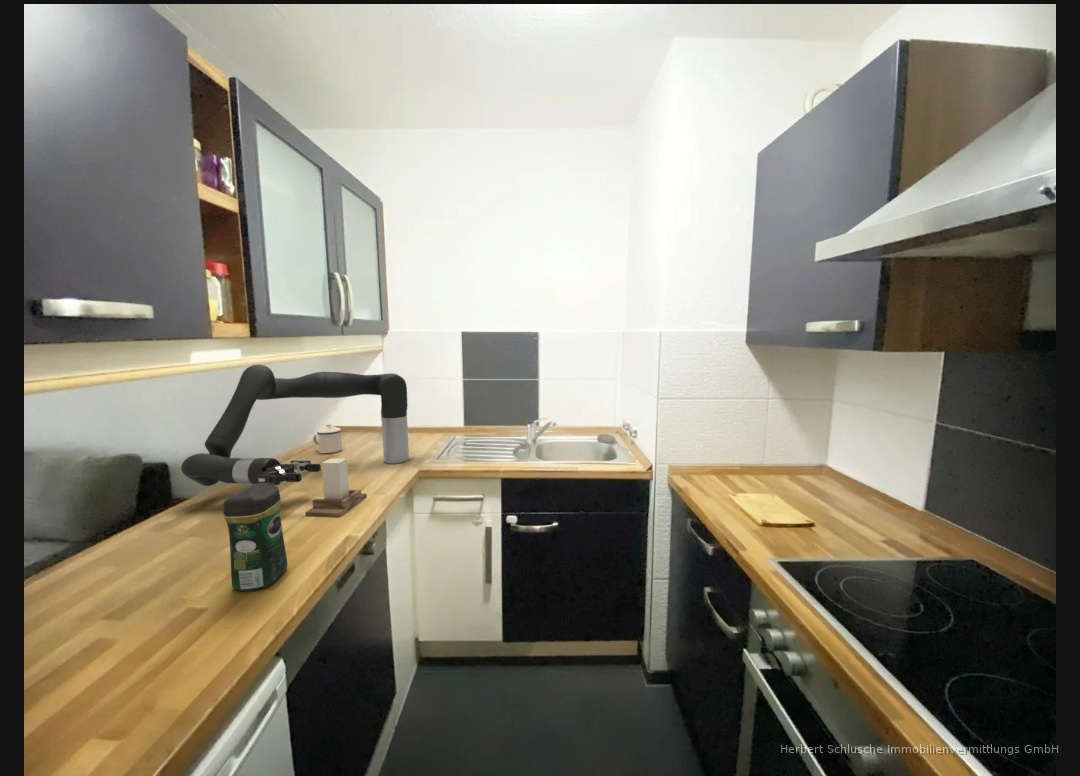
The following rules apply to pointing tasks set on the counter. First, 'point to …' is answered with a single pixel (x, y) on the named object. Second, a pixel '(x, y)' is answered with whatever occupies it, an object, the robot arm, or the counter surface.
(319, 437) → the teacup with lid
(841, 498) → the counter surface
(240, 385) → the robot arm
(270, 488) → the coffee jar
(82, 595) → the counter surface
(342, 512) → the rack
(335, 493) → the white rectangular block
